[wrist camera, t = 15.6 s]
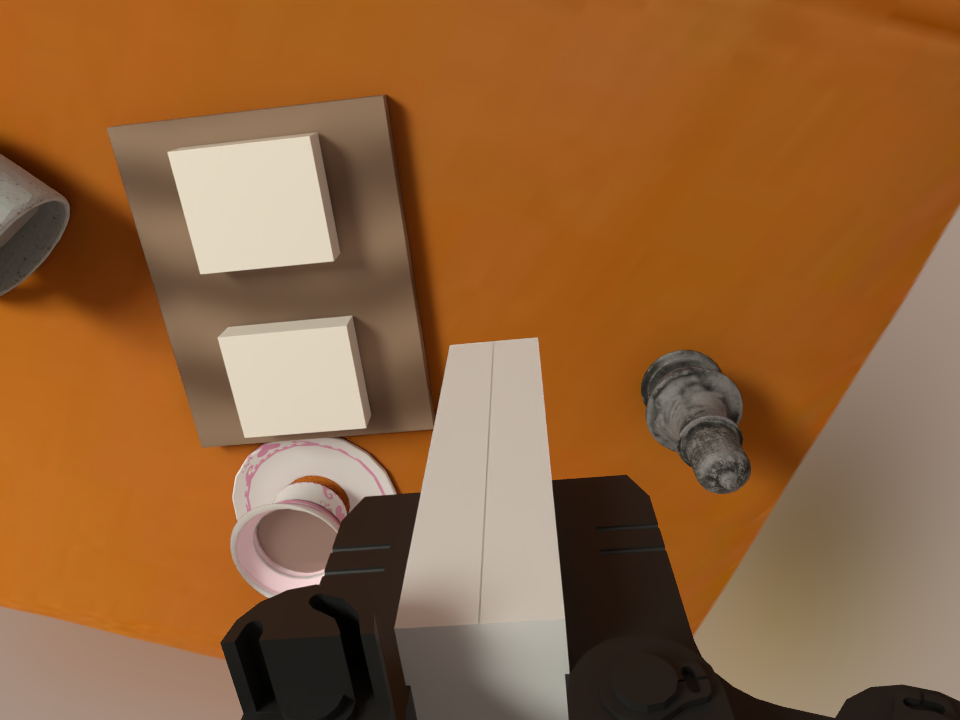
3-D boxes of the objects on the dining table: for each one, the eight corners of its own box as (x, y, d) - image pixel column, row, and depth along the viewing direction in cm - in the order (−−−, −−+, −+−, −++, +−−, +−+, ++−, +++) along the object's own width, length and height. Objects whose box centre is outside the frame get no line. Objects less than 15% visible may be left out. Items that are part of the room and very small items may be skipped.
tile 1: (318, 132, 41) (181, 147, 42) (309, 135, 39) (167, 151, 40) (341, 252, 44) (212, 265, 45) (333, 261, 42) (200, 274, 43)
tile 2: (352, 314, 46) (228, 326, 46) (346, 325, 44) (217, 337, 44) (371, 413, 48) (254, 423, 49) (366, 428, 46) (244, 437, 47)
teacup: (201, 473, 52) (163, 526, 47) (338, 401, 50) (316, 448, 44) (298, 591, 56) (274, 652, 51) (430, 530, 53) (421, 587, 48)
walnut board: (116, 125, 43) (106, 127, 42) (386, 94, 41) (382, 96, 40) (208, 438, 51) (202, 447, 50) (435, 420, 50) (433, 428, 49)
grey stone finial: (632, 353, 47) (669, 447, 36) (724, 338, 47) (791, 430, 36) (641, 432, 49) (678, 543, 38) (729, 419, 49) (793, 529, 38)
